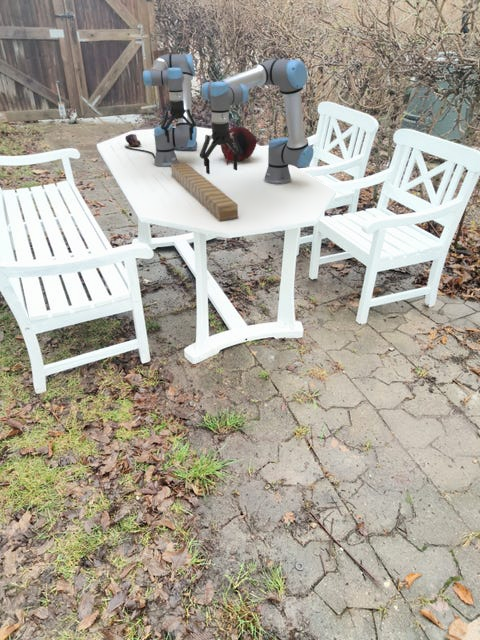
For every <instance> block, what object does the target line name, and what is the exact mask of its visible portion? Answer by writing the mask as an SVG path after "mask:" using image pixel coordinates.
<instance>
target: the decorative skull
mask: <svg viewBox="0 0 480 640" xmlns="http://www.w3.org/2000/svg"><path fill="white" fill-rule="evenodd" d="M232 132H234V133H236V138H237V140H238V143H239V145H240V147H241V149H242V151H243V153H242V154H240V155H239V162H244V161H246V160H248V159H249V158H250V157H251V156H252V155H253V154H254V151H255V149H256V146H257V143H258V141H257V138H256V136H255V135H254V133H253V132H252V131H250V130H249V129H248V128H246V127H243V126H234V127H232V128H229V134H230V133H232ZM228 140H229V142H230V143H231V144H232V145H233V147H234V148H235V149H236V150H237V148H236V146H235V143H234V141H233V139H232V138H231V136H230V138H229V139H228ZM220 150H221V152H222V154H223V157H224V159H225V160H226V165H229V162H233V155H235V153H234V152H233V151H232V150H231V148H230V147H229V146H228V145H227V144H225V145H220ZM237 151H238V150H237Z"/></svg>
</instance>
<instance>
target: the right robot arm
mask: <svg viewBox="0 0 480 640" xmlns="http://www.w3.org/2000/svg"><path fill="white" fill-rule="evenodd" d="M307 79H308V70H307V67H306V64H305V63H304V62H303V61H302V60H297V59H283V58H271V59H268V60H265V61H262V62H260V63H256V64H254V65H253V66H252V68H250V69H248V70H245V71H242V72H239V73H236V74H234V75H231V76H228V77H225V78H223V79H220V80H217V81H213V82H212V81H207V82H204V83H203V84H202V87H201V96H202V98H203V99H204V100H205V101H209V102H210V111H211V113H210V114H211V122H212V123H211V135H209V134H205V137H204V142H203V145H202V146H201V150H200V153H199V157H200V158H201V159H203V166H204V167H205V173H206V174H208V175H210V174H211V169H210V159H209V157H210V156H211V154H212V152H213V151H214V149H215V148H216V147H217V146H221V145H225V144H227V145H228V146H229V147H230V148H231V150H232V151H233V152H234V153H235V155H233V161H232V162H233V163H232V164H233V167H232V168H233V170H234V171H238V163H239V162H240V161H239V155H240V154H242V153H243V151H242V149H241V147H240V145H239V143H238V140H237V138H236V133H234V132H232V133H230V134H229V130H230V112H229V111H230V107H231V106H235V105H241V104H244V103H246V102H247V100H248V99H249V89H251V88H253V87H254V88H255V87H256V86H257V87H263V86H275V87H278V88H279V94H280V95H282V96H283V105H284V111H285V119H286V127H287V129H286V130H287V135H288V137H277V138H273V139H270V140H269V142H268V148H267V149H268V152H267V153H268V157H267V159H268V161H267V162H268V163H267V168H266V171H265V175H264V181H265V182H266V183H268V184H273V185H280V184H281V185H283V184H288V183H290V182H291V180H292V177H291V172H290V168H289V166H294V167H297V168H307V167H308V166H309V165H310V164H311V162H312V160H313V158H314V152H315V151H314V148H313V146H311V145H309V139H308V138H307V137H306V136H305V135H306V134H305V125H304V113H303V104H302V93H301V92H302V91H303V90H304V87H305V86H306V83H307ZM230 136H231V138H232V139H233V141H234V143H235V146H236V148H237V150H238V151H237V150H236V149H235V148H234V147H233V145H232V144H231V143H230V142H229V140H228V139H229V138H230ZM210 141H211V143H210ZM209 144H210V145H209Z"/></svg>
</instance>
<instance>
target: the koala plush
mask: <svg viewBox="0 0 480 640" xmlns="http://www.w3.org/2000/svg"><path fill="white" fill-rule="evenodd" d="M197 149H198V141H197V140H196V144H195V146H193V147H174V150H178V151H191V152H193V151H197Z"/></svg>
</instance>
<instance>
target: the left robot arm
mask: <svg viewBox="0 0 480 640" xmlns="http://www.w3.org/2000/svg"><path fill="white" fill-rule="evenodd" d="M194 76H196V69H195V64H194V58H193V55H192V54H190V53H189V54H188V53H166V54H163V55H160V56H158V57H156V58H155V59H154V61H153V62H152V67H151V68H150V70H148V69H147V70H143V71H142V82H143V85H144V86H146V87H168V96H169V97H168V98H169V110H164V117H163V119H162V122H161V125H158V126H156V127H155V128H154V129H153V136H154V145H155V154H154V152H152V151H150V150H146V149H139V148H133V147H131V146H127V145H125V146H124V147H125V148H126V149H129V150H132V151H138V152H145V153H148V154H151V155H152V156H153V159H154V165H155V166H157V167H163V168H164V167H165V168H167V167H168V168H169V167H171V164H176V163H179V159H178V157H177V153H176V151H175V149H174V147H193V146H195V144H196V141H197V138H198V137H197V136H198V128H197V124H196V122H195V121H196V120H194V119H195V118H193V116H192V113H193V112H192V89H191V88H192V85H191V83H192V81H193V80H194ZM169 115H170V117H169ZM168 118H169V120H168ZM167 120H168V121H167ZM174 120H177V122H176V123H175V127H174V126H173V125H172V123H173V121H174Z"/></svg>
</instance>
